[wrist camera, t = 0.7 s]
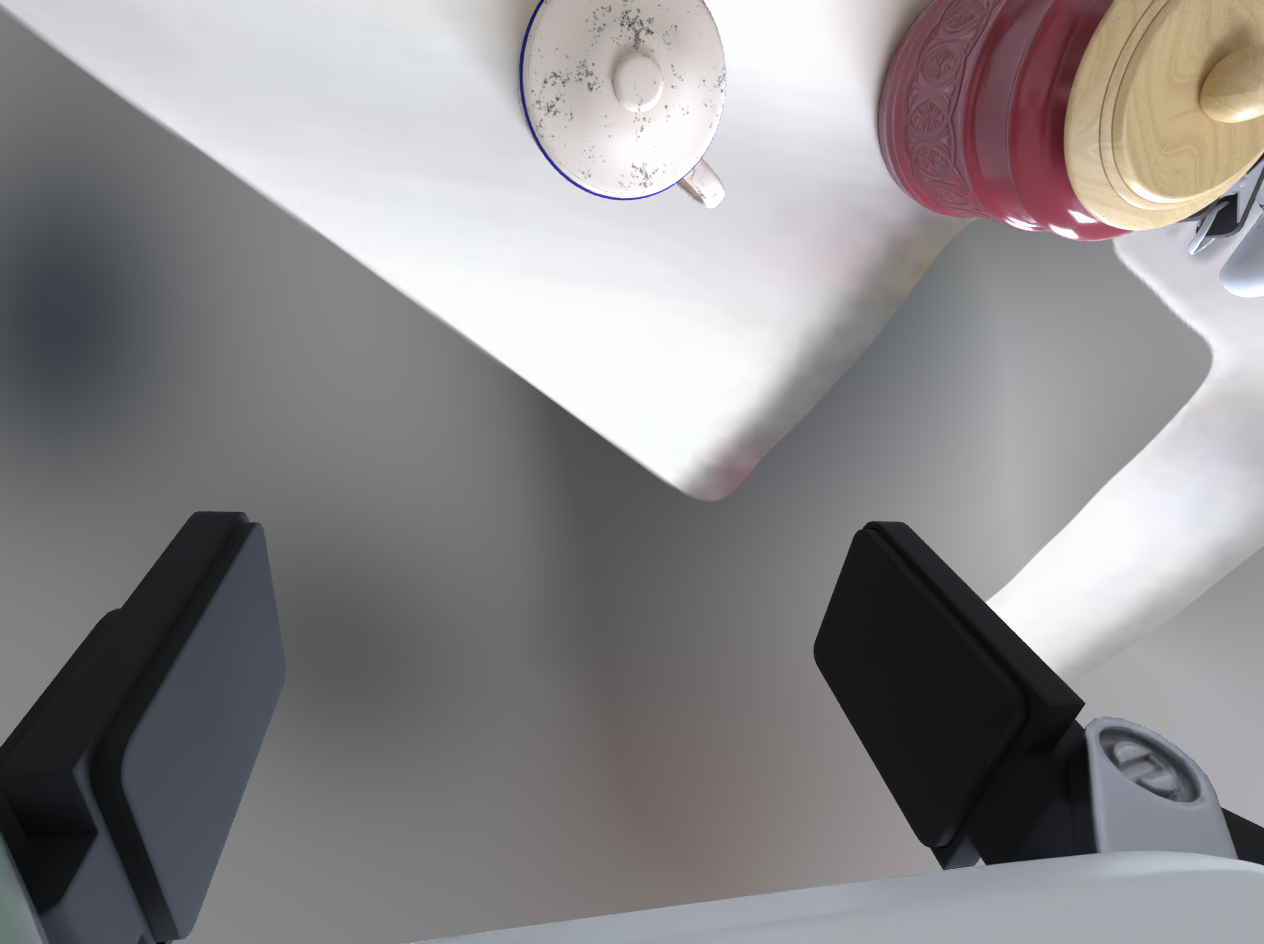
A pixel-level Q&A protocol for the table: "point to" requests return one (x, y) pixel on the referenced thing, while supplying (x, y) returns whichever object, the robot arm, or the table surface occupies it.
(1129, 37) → the kitchen canister
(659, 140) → the teacup with lid
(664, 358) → the table surface
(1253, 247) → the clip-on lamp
